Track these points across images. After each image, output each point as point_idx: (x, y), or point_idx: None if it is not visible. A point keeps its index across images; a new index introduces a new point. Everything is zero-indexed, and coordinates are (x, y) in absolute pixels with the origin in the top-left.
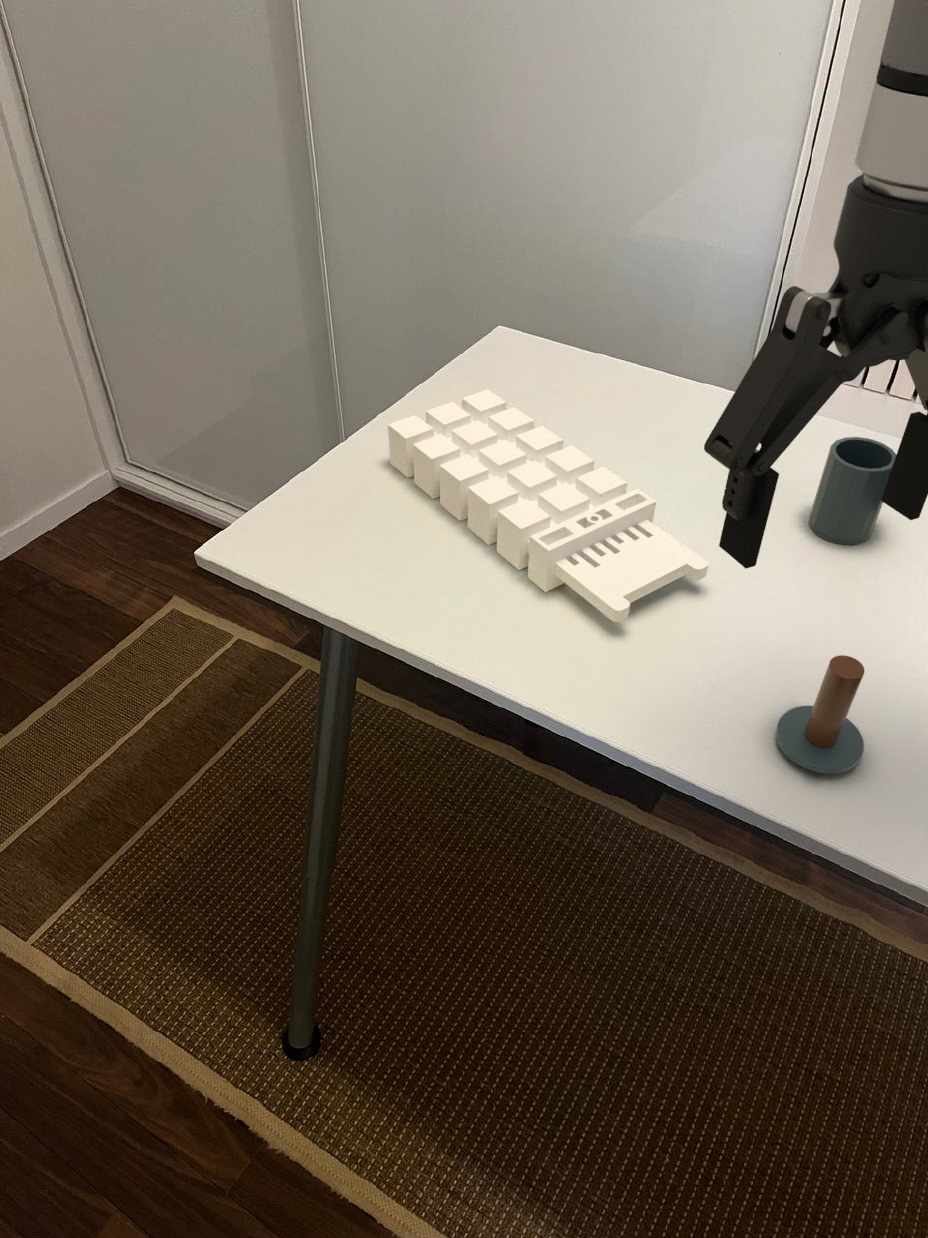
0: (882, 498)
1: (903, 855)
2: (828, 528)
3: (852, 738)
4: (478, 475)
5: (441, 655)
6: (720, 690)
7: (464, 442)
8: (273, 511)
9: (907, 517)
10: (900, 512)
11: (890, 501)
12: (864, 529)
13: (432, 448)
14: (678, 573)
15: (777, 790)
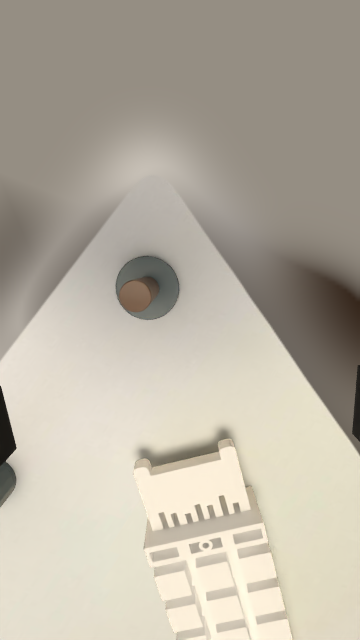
0: (13, 450)
1: (149, 181)
2: (5, 477)
3: (125, 277)
4: (267, 620)
5: (351, 453)
6: (183, 358)
7: None
8: None
9: (1, 393)
10: (5, 408)
11: (6, 437)
12: None
13: None
14: (159, 469)
15: (198, 263)
